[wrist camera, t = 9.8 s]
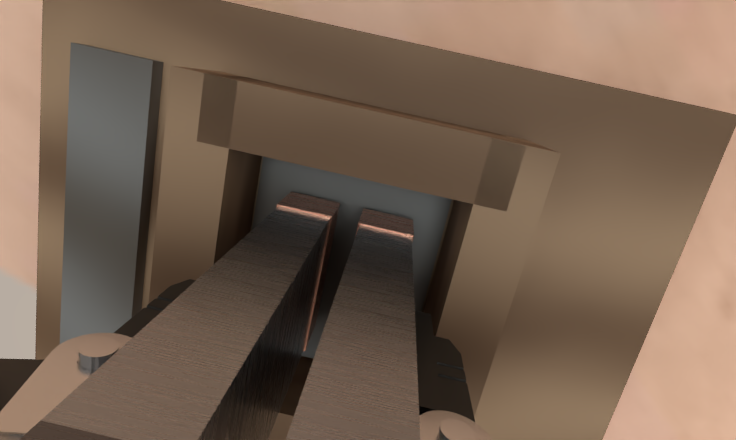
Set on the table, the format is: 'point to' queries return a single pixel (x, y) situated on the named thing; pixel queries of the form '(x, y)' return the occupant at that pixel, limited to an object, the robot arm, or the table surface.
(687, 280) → the table surface
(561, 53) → the table surface
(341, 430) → the grey square peg
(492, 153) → the stand
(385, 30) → the table surface
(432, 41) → the table surface
